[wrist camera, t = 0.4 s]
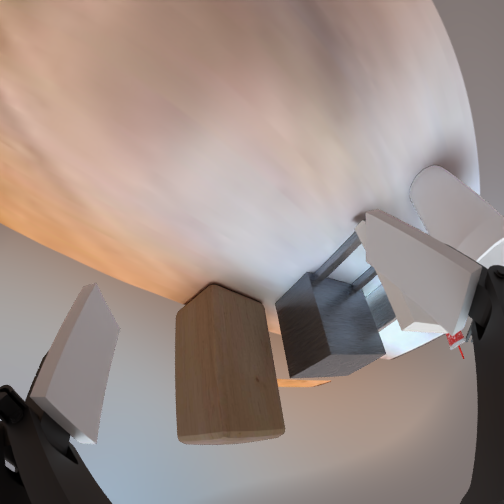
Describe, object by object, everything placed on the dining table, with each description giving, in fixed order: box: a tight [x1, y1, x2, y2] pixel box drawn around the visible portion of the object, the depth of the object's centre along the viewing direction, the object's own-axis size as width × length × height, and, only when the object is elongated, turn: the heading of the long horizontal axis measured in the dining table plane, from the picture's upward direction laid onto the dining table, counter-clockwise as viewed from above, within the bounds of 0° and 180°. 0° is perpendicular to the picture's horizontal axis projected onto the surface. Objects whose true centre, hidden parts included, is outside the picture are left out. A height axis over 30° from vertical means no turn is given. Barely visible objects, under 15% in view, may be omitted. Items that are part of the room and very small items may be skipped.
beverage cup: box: [446, 330, 466, 359], centre depth 62 cm, size 6×6×14 cm
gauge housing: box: [275, 232, 397, 378], centre depth 35 cm, size 18×17×12 cm
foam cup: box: [409, 165, 504, 269], centre depth 23 cm, size 10×9×13 cm
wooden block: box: [175, 285, 285, 445], centre depth 33 cm, size 10×10×20 cm
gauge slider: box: [355, 220, 448, 333], centre depth 29 cm, size 6×17×13 cm, turn 61°
